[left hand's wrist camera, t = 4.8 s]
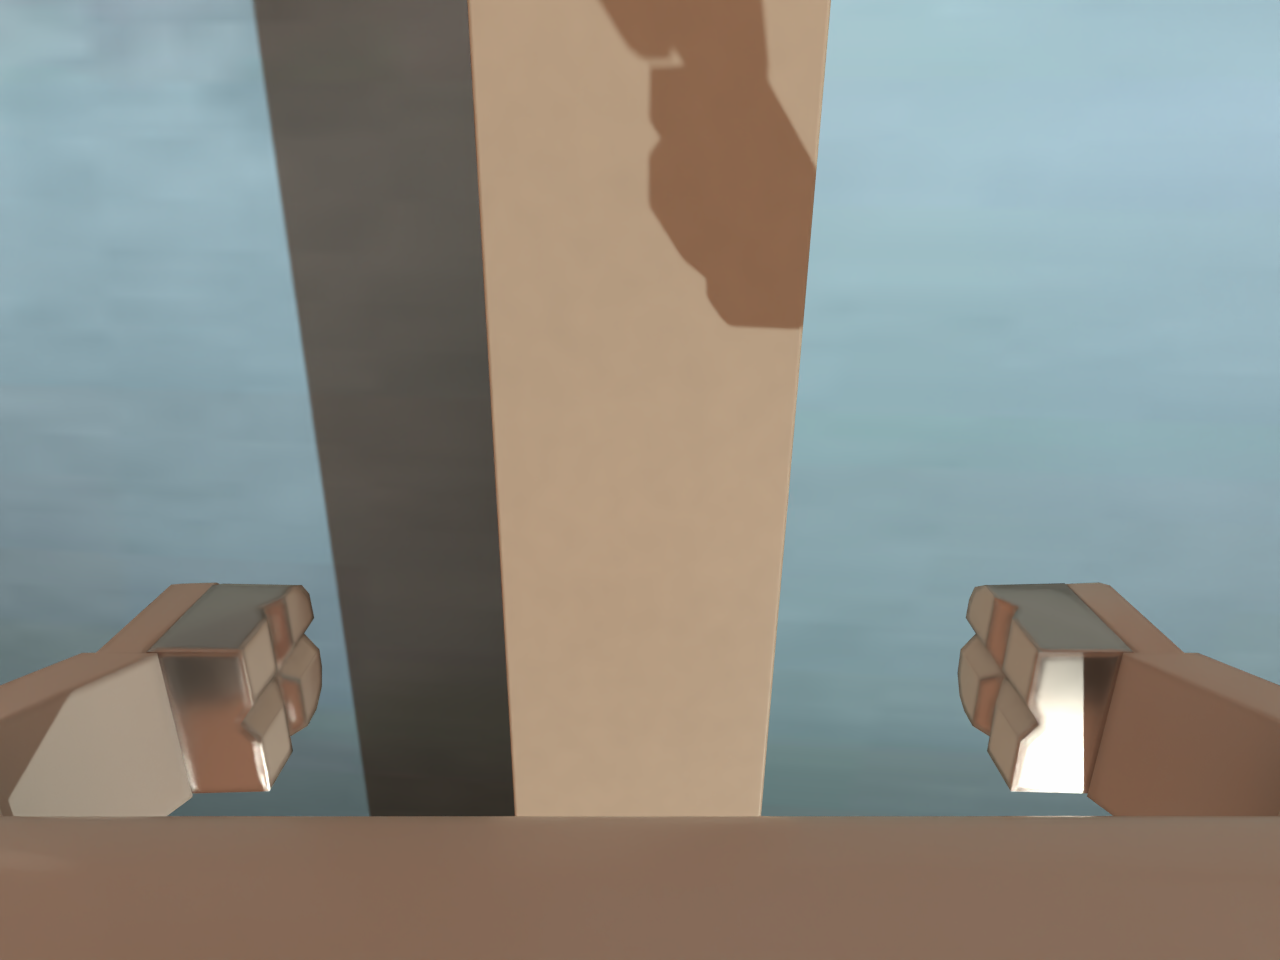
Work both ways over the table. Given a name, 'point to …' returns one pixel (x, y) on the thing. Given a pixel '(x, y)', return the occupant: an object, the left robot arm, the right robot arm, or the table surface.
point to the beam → (643, 381)
